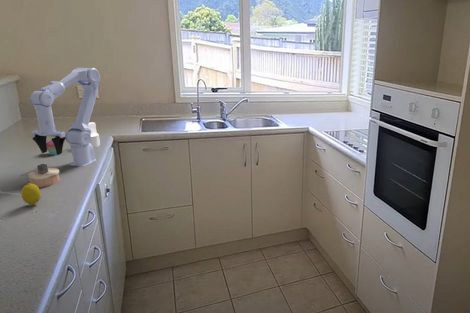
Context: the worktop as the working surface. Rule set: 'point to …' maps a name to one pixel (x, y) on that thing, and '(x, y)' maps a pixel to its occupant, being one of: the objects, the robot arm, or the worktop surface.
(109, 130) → the worktop surface
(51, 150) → the cupcake
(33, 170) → the mat
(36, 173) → the lid
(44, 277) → the worktop surface
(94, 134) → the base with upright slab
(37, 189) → the lemon
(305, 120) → the worktop surface
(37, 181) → the bowl
